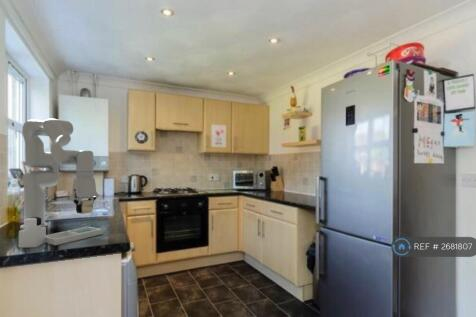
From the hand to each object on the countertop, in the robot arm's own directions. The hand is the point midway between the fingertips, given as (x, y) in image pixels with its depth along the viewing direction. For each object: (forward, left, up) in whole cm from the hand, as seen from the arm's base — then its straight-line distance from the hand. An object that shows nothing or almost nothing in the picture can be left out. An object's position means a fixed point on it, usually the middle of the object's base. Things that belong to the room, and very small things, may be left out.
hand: (84, 211), depth 139 cm
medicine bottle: (-3, -21, -12) cm, 25 cm away
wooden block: (0, 0, -1) cm, 1 cm away
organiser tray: (0, -5, -12) cm, 13 cm away
